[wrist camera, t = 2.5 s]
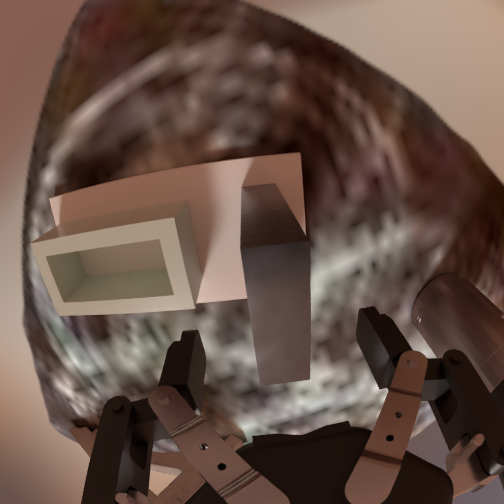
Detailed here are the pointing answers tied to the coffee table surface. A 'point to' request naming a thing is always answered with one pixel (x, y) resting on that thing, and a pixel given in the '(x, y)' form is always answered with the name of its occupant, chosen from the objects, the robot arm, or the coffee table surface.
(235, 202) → the well board
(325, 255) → the coffee table surface
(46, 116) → the coffee table surface
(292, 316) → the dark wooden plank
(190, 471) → the wall bracket
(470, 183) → the coffee table surface
